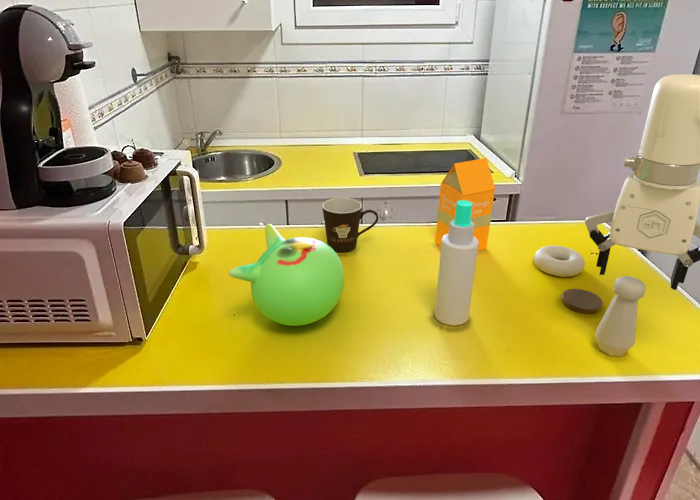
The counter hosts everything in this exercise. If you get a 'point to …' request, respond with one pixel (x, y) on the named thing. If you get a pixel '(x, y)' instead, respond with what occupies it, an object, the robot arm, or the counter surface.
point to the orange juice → (467, 198)
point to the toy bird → (294, 279)
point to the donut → (559, 261)
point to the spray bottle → (457, 268)
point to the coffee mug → (343, 223)
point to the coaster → (581, 301)
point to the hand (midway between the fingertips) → (636, 278)
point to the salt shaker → (620, 317)
